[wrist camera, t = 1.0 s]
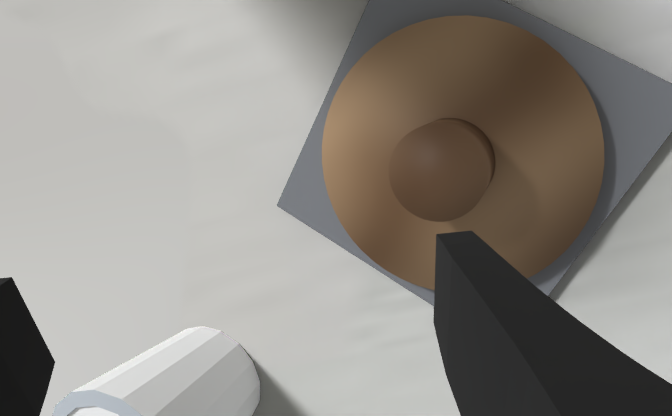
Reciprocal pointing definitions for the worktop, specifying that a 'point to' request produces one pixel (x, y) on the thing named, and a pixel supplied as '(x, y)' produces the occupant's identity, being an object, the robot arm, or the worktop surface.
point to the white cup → (174, 381)
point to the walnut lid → (462, 146)
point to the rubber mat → (588, 60)
